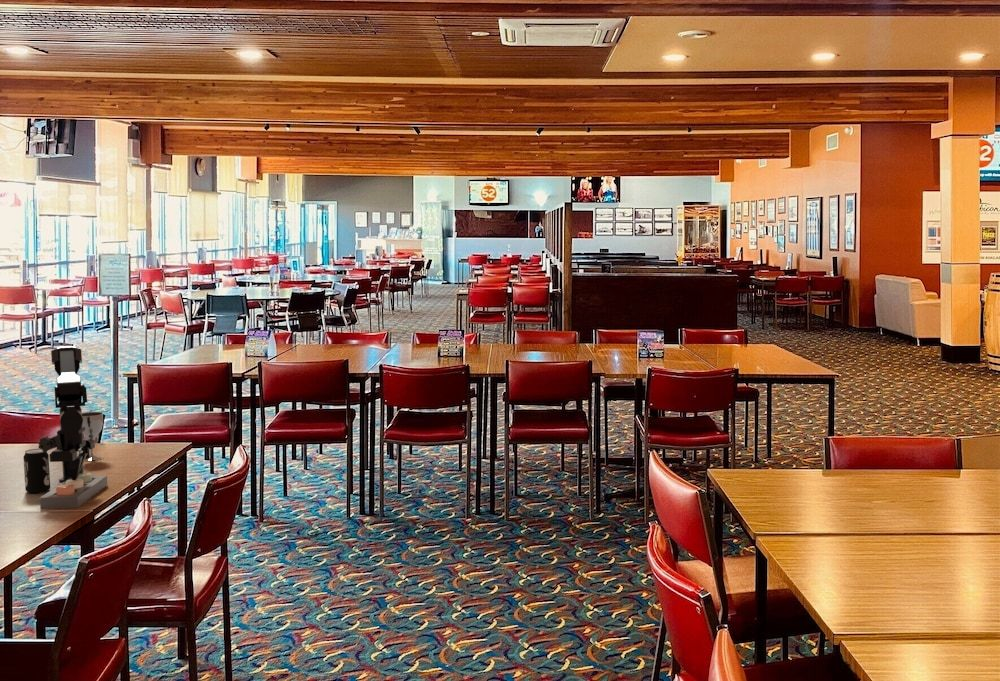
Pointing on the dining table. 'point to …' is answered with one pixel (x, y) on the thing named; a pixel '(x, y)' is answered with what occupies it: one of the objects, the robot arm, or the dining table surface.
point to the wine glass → (92, 428)
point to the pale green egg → (85, 477)
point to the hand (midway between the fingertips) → (74, 479)
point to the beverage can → (36, 471)
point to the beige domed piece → (75, 483)
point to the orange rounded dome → (65, 490)
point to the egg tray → (75, 499)
